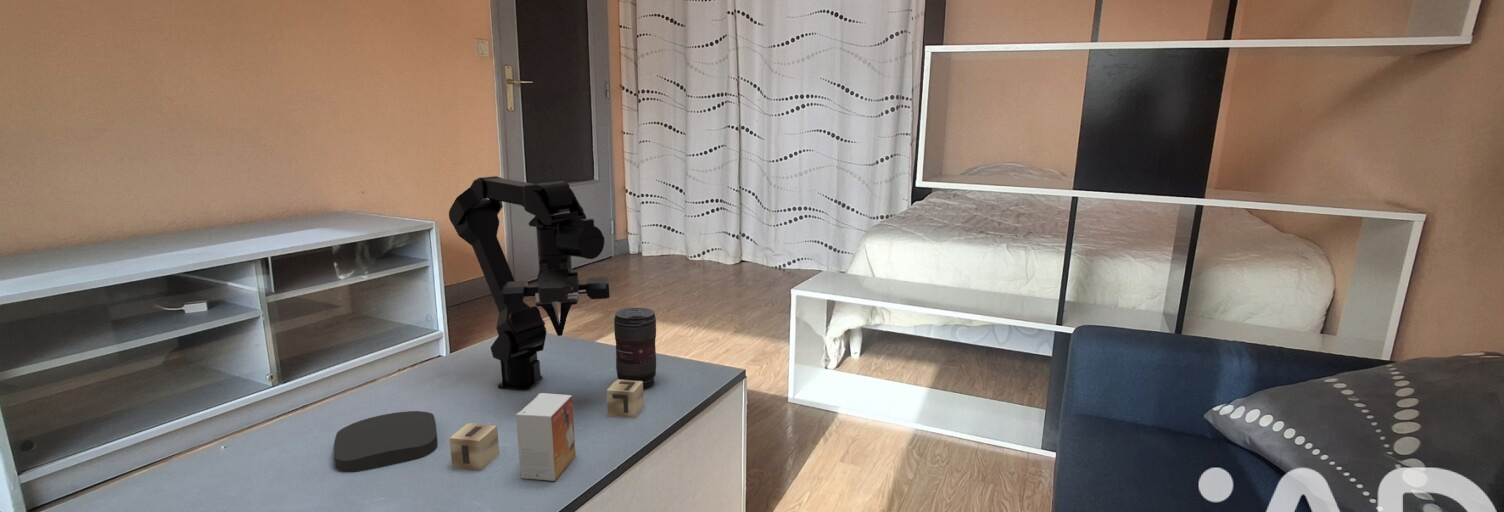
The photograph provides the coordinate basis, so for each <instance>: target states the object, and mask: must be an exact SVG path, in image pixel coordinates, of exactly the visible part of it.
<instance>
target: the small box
mask: <svg viewBox="0 0 1504 512" xmlns="http://www.w3.org/2000/svg"><path fill="white" fill-rule="evenodd" d="M573 401H574V400H573V395H570V394H559V393H546V392H545V393H544V392H541V393H540V392H539V393H538V394H537V396H535V398H533V399H532V400H531V401H530V402H529V403H528V404H527V405H526V406H525V407H524V408H522V409H521V410H520V411H519V412H517V413H516V414H515V419H516V429H517V431H516V432H517V433H516V434H517V443H518V444H517V445H518V456H519V458H518V459H519V468H520V478H521V479H526V480H539V481H550V482H551V481H552V482H555V481H557V479H558V478H559V476H560V475H561V474H562V472H563V471H564V470H565V469H566V468H567V466H568V465H569V464H570V463H571V462H572V461H573V460H574V459H575V457H576V440H575V438H576V437H575V423H574V421H575V420H574V404H573V403H574V402H573Z"/></svg>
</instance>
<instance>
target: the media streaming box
mask: <svg viewBox="0 0 1504 512" xmlns="http://www.w3.org/2000/svg"><path fill="white" fill-rule="evenodd" d="M436 423H437V422H436V419H435V416H434V414H433V413H432V412H429V411H419V410H409V411H398V412H397V411H396V412H392V413H385V414H380V415H376V416H372V417H368V418H365V419H362V420H359V421H355V422H353V423H351V424H349V425H346V426H345V427H343V428H341V429H340V430H338V431H337V432H336V434H335V438H334V444H333V457H334V465H335V469H336V470H338V471H341V472H343V473H344V472H346V473H347V472H348V473H354V472H362V471H365V470H371V469H376V468H380V467H381V468H382V467H386V466H391V465H395V464H399V463H404V462H405V463H406V462H409V461H413V460H417V459H420V458H423V457H427V456H428V455H431V453H433V452H434V451H435V450H437V448H438V443H439V441H438V434H437V425H436Z"/></svg>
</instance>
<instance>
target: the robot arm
mask: <svg viewBox="0 0 1504 512" xmlns="http://www.w3.org/2000/svg"><path fill="white" fill-rule="evenodd" d="M503 203H507V204H512V205H518V206H521V207H523V209H524V211H526V213H529V214H531V215H533V216H534V217H533V218H532V219H531V220H530V221H529V222H528V226H529V227H533V228H535V229H536V243H537V254H538V256H537V257H538V274H537V278H536V279H537V285H529V284H528V281H527V280H522V281H521V280H520V281H519V280H518V281H516V279H515V277H514V275H513V272H512V270H511V267H510V265H509V262H508V260H507V257H506V255H505V254H504V251H503V247H502V246H501V244H500V241H499V239H498V233H499V227H500V218H499V216H498V215H499V213H500V211H501V210H502V209H503V207H504V206H503ZM448 219H449V221H450V223H451V224H452V226H453V228H454V230H455V233H456V234H457V235H458V237H460V238H461V239H463V240H464V241H465V242H466V243H468V244H469V245H470V246H471V247H472V249H473V251H474V254H475V257H476V258H477V261H478V263H479V267H480V269H481V271H482V274H483V275H484V278H485V281H486V283H487V285H488V286H487V287H488V288H489V291H490V293H491V295H492V296H491V297H492V298H493V300H494V302H495V305H496V308H497V311H498V316H497V322H496V327H495V328H496V332H497V335H498V336H497V337H496V339H495V340H494V342H493V343H492V344H491V346H490V351H491V354H492V357H493V359H495V360H498V361H499V362H500V369H501V371H500V373H501V382H500V383H499V384H497V388H498V389H505V390H518V391H519V390H521V391H528V390H530V389H531V388H533V387H534V386H535V385H536V384H537V383H538V382H540V381H541V380H542V379H543V375H542V374H541V364H540V360H539V359H538V352H542V351H544V347H545V343H546V338H547V337H546V336H547V328H546V322H545V320H544V319H543V317H542V315H541V312H540V309H539V308H538V307H541V308H542V309H543V310H544V311H545V313H546V314H547V316H548V318H549V320H550V322H551V324H552V326H553V328H554V331H555V333H556V335H557V337H560V336H563V334H564V331H565V326H566V322H567V318H568V315H569V311H570V310H571V308H572V306H573V305H577V304H578V303H579V299H580V295H583V294H585V295H586V296H587V297H588V298H590V300H604V299H609V298H610V297H611V294H610V293H611V286H610V283H611V281H610V279H609V278H608V277H607V276H601V277H600V276H597V277H587V281H586V282H585V283H583V282H582V283H580V281H579V279H580V278H579V273H578V271H577V272H576V271H575V272H573V265H572V261H573V259H572V257H574V258H575V257H576V258H582V259H587V260H594V259H596V258H598V257H599V256H600V255H601V253H602V252H603V251H604V250H603V249H604V246H605V236H604V235H603V232H602V231H601V229H600V228H598V227H597V226H595V221H594V219H593V218H587V215H586V214H585V211H584V209H583V207H582V205H580V203H579V200H578V199H577V197H576V195H575V192H574V191H573V189H571V188H570V184H569V183H568V182H566V181H564V180H562V181H554V182H543V183H531V182H526V181H525V182H524V181H521V180H512V179H509V178H503V177H501V176H500V177H499V176H497V175H495V176H485V177H484V176H483V177H478V178H476V179H474V180H473V181H472V183H471V185H470V187H468V188H467V189H466V190H464V191H463V192H462V193H460V194H459V195H458V196H457V197H456V198H455V200H454V201H453V203H452V205H451V206H450V208H449V211H448ZM525 297H535V301H536V302H535V305H534V306H530V305H529V304H527V303H526V302H525V301H524V299H525ZM557 303H560V314H559V311H558V304H557Z"/></svg>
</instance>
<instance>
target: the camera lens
mask: <svg viewBox="0 0 1504 512" xmlns="http://www.w3.org/2000/svg"><path fill="white" fill-rule="evenodd" d="M614 315H615V316H614V318H613V322H614V323H613V325H614V327H613V328H614V332H613V333H614V341H615V354H616V355H615V369H616V374H617V375H616V376H617V377H616V378H617V379H620V380H632V381H643V390H646V389H648V388H650V387H652V386H653V385H654V383H655V377H656V375H657V372H656V370H657V353H656V352H657V351H656V339H657V338H656V337H657V317H656V314H655V311H654V310H653V309H651V308H647V307H629V308H628V307H627V308H622V309H619V310H617V311H616V312H615V314H614Z"/></svg>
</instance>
